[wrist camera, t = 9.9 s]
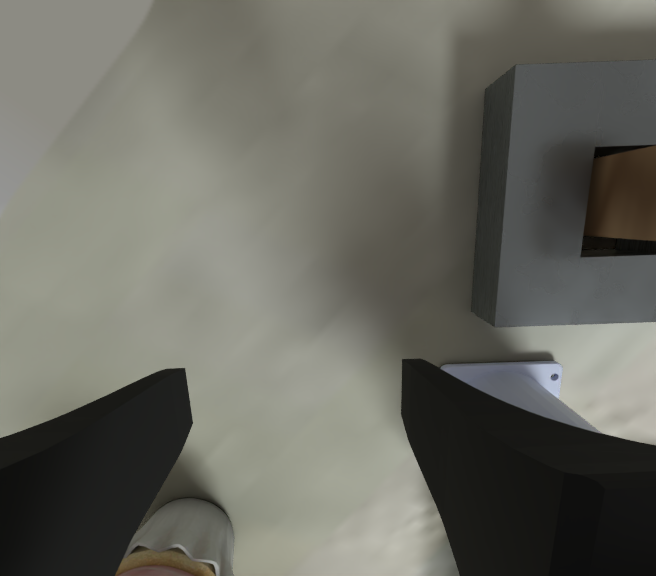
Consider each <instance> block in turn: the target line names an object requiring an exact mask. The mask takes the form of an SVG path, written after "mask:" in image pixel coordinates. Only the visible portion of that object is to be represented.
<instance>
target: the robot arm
mask: <svg viewBox="0 0 656 576" xmlns="http://www.w3.org/2000/svg"><path fill="white" fill-rule="evenodd" d="M562 370H563V369H562V366H561V364H559V363H558V362H556V361H532V362H502V363H472V364H446V365H443V366H442V367H441V368H438V367H437V366H435V365H433V364H431V363H429V362H427V361H425V360H423V359H402V402H401V415H402V419H403V422H404V426H405V430H406V433H407V437H408V440H409V443H410V445H411V448H412V450H413V453H414V455H415V457H416V460H417V462H418V464H419V467H420V469H421V471H422V474H423V476H424V478H425V481H426V483H427V485H428V487H429V490H430V492H431V494H432V497H433V499H434V501H435V504H436V506H437V508H438V511H439V514H440V516H441V519H442V521H443V524H444V527H445V530H446V533H447V536H448V539H449V542H450V546H451V549H452V552H453V555H454V558H455V561H456V564H457V567H458V571H459V574H460V576H656V445H650V444H645V443H640V442H635V441H630V440H626V439H622V438H618V437H614V436H609V435H605V434H602V433H601V432H600V431H598V430H597V429H596V428H595V427H593V426H592V425H591V424H590V423H588V422H587V421H586V420H585V419H583V418H582V417H581V416H579V415H578V414H577V413H576V412H574V411H573V410H572V409H571V408H569V407H568V406H567V405H565V404H564V403H563V402H562V401H560V400H559V393H560V385H561V378H562ZM552 374H554V376H553V377H552V378H551V375H552ZM192 424H193V420H192V414H191V407H190V400H189V393H188V386H187V379H186V372H185V368H176V369H164V370H161V371H158V372H156V373H153V374H151V375H149V376H147V377H144V378H142V379H140V380H138V381H136V382H134V383H132V384H130V385H127V386H125V387H123V388H121V389H119V390H117V391H115V392H113V393H111V394H109V395H107V396H104V397H102V398H100V399H98V400H96V401H93V402H91V403H89V404H87V405H84V406H82V407H80V408H78V409H76V410H73V411H71V412H69V413H66V414H64V415H62V416H59V417H57V418H54V419H52V420H49V421H47V422H44V423H42V424H39V425H36V426H34V427H31V428H28V429H26V430H23V431H20V432H17V433H15V434H12V435H9V436H6V437H2V438H0V576H115V575H116V572H117V570H118V568H119V566H120V564H121V562H122V559H123V557H124V555H125V553H126V551H127V549H128V546H129V544H130V542H131V540H132V538H133V536H134V534H135V532H136V530H137V529H138V527H139V525H140V523H141V521H142V519H143V518H144V516H145V514H146V512H147V511H148V509H149V507H150V506H151V504H152V502H153V500H154V499H155V497H156V495H157V493H158V492H159V490H160V488H161V487H162V485H163V483H164V481H165V480H166V478H167V476H168V474H169V473H170V471H171V469H172V467H173V466H174V464H175V462H176V460H177V459H178V457H179V455H180V453H181V451H182V449H183V446H184V444H185V442H186V439H187V437H188V434H189V432H190V429H191V427H192Z"/></svg>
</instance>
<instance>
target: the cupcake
mask: <svg viewBox="0 0 656 576" xmlns="http://www.w3.org/2000/svg"><path fill="white" fill-rule="evenodd" d="M233 554H234V532H233V529H232V525H231V522H230V520H229V518H228V516H227V515H226V514H225V513H224V512H223V511H222V510H221V509H220V508H218V507H217V506H215V505H214V504H212V503H210V502H207V501H204V500H201V499H195V498H184V499H178V500H174V501H171V502H169V503H168V504H166V505H164V506H163V507H161V508H160V509H158V510H157V511H156V512H155V513H154V514H153V516H152V517H151V518H150V519H149V520H148V521H147V522H146V523H145V524H144V526H143V527H142V528H141V529H140V530H139V531H138V532H137V533H136V534H135V535H134V536H133V538H132V540H131V542H130V544H129V546H128V549H127V551H126V553H125V555H124V557H123V559H122V562H121V564H120V566H119V568H118V570H117V572H116V575H115V576H234V575H233V571H232V569H233Z"/></svg>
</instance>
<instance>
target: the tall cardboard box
mask: <svg viewBox="0 0 656 576" xmlns="http://www.w3.org/2000/svg"><path fill="white" fill-rule="evenodd" d="M583 236H596V237H610V238H623V239H636V240H650V241H656V146H651V147H646V148H642V149H637V150H632V151H628V152H623V153H618V154H614V155H609V156H604V157H600V158H595V159H593V166H592V173H591V181H590V188H589V196H588V203H587V211H586V218H585V226H584V233H583Z"/></svg>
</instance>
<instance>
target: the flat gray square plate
mask: <svg viewBox="0 0 656 576" xmlns="http://www.w3.org/2000/svg"><path fill="white" fill-rule="evenodd" d="M651 146H656V60H631V61H603V62H575V63H547V64H519V65H515V66H514V67H512V68H511V69H510V70H509V71H507V72H506V73H505V74H504V75H502V76H501V77H500V78H499V79H497V80H496V81H495V82H494V83H492V84H491V85H490V86H489V87H487V88H486V89H485V104H484V120H483V136H482V151H481V167H480V182H479V198H478V214H477V229H476V245H475V260H474V276H473V292H472V307H471V312H472V313H474V314H475V315H477V316H478V317H480V318H481V319H483V320H484V321H486V322H487V323H489V324H491V325H492V326H494V327H517V326H547V325H577V324H607V323H637V322H656V241H650V240H636V239H623V238H618V239H617V245H616V249H603V250H581V248H582V240H583V233H584V226H585V218H586V211H587V203H588V196H589V188H590V181H591V173H592V166H593V159H594V156H609V155H614V154H618V153H623V152H628V151H632V150H637V149H642V148H646V147H651Z"/></svg>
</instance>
